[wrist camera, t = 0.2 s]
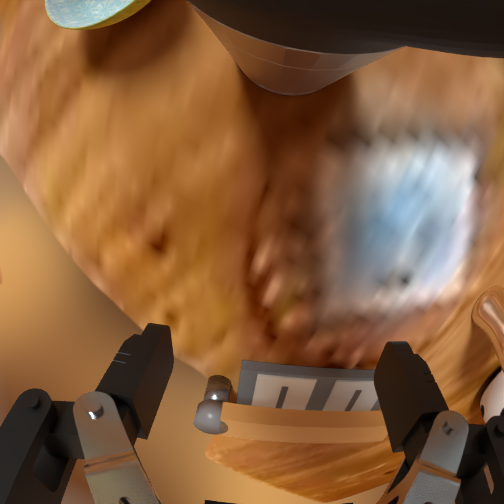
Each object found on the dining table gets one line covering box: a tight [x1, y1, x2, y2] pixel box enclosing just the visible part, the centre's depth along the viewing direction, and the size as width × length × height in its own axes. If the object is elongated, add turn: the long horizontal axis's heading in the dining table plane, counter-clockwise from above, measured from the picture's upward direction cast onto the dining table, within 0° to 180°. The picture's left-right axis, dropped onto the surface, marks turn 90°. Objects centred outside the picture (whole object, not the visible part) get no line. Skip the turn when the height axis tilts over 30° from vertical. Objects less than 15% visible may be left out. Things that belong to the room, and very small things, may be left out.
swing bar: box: [194, 400, 388, 443], centre depth 31 cm, size 24×4×2 cm, turn 83°
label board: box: [236, 360, 380, 411], centre depth 36 cm, size 14×20×2 cm
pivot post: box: [203, 375, 231, 403], centre depth 35 cm, size 3×3×4 cm
